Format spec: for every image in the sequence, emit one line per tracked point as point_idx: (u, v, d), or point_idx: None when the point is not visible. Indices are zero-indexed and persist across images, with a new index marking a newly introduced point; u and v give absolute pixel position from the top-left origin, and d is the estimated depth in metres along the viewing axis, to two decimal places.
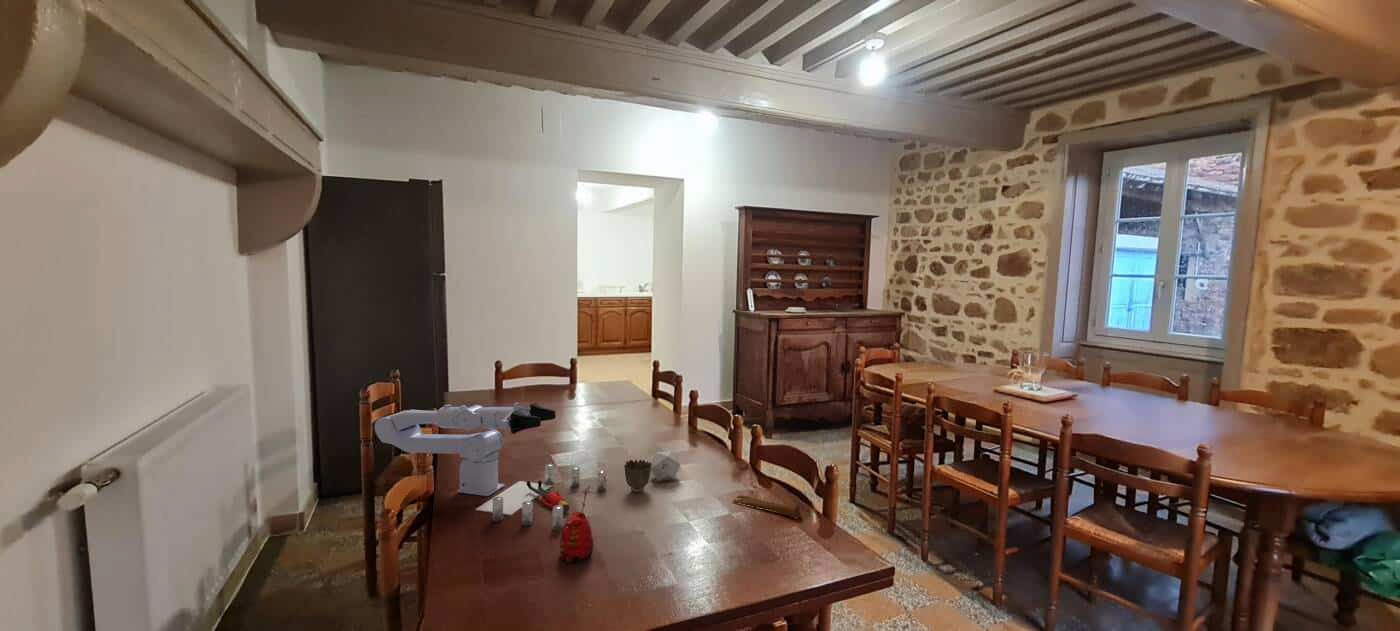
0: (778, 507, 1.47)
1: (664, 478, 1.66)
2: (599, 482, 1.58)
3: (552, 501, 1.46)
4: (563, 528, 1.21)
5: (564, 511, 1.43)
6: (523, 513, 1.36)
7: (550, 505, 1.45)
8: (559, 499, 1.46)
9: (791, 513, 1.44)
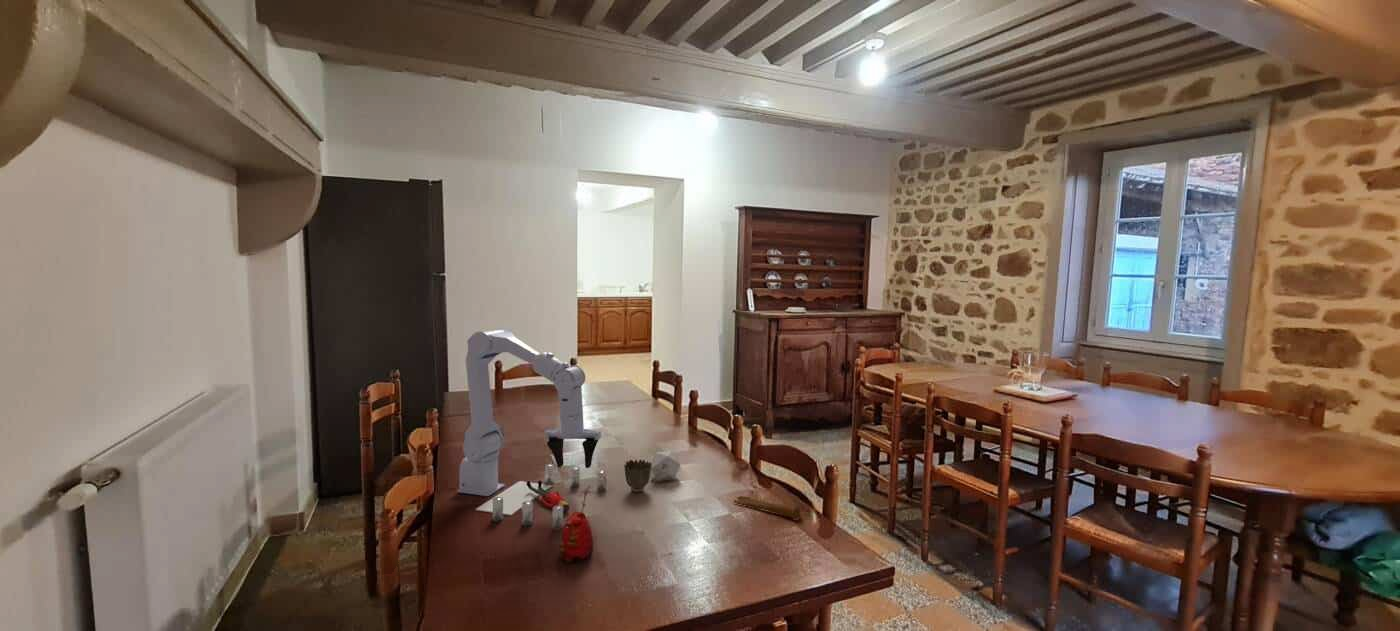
0: (778, 508, 1.46)
1: (664, 478, 1.66)
2: (599, 482, 1.58)
3: (552, 501, 1.46)
4: (563, 528, 1.21)
5: (564, 511, 1.43)
6: (523, 513, 1.36)
7: (550, 505, 1.45)
8: (559, 499, 1.46)
9: (790, 514, 1.43)
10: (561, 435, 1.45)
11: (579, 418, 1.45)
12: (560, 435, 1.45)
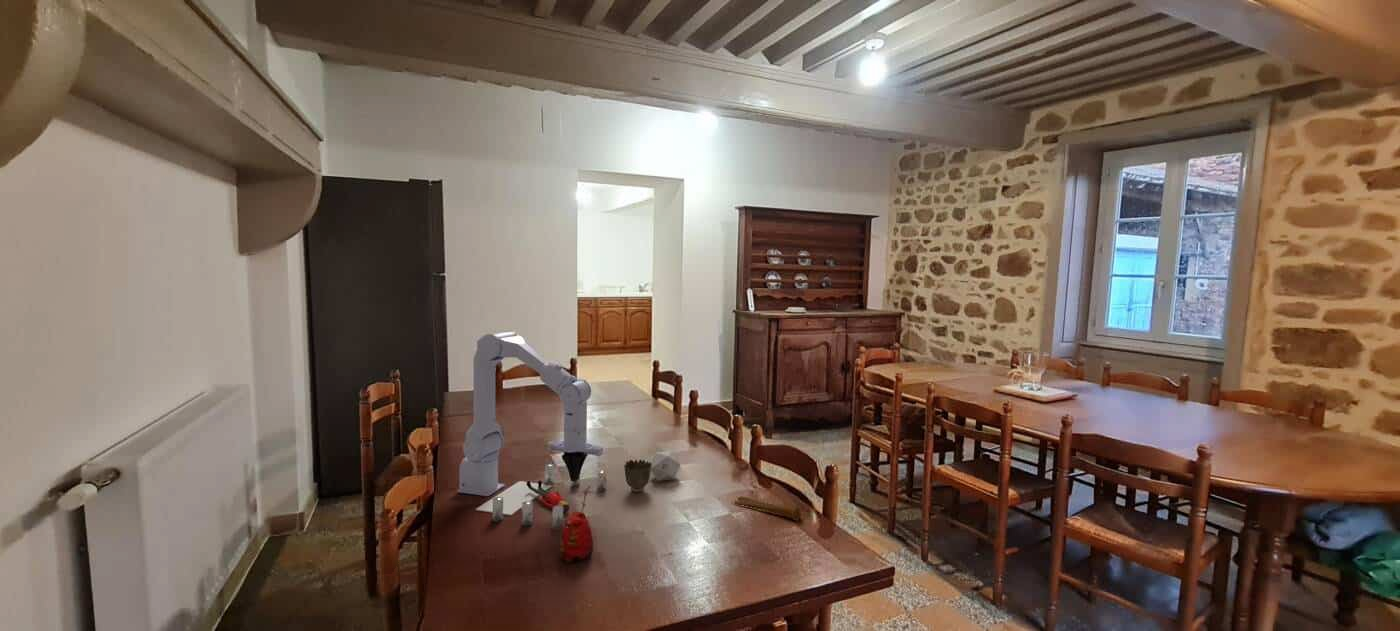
0: (778, 509, 1.46)
1: (664, 478, 1.66)
2: (599, 482, 1.58)
3: (552, 501, 1.46)
4: (563, 528, 1.21)
5: (564, 511, 1.43)
6: (523, 513, 1.36)
7: (550, 505, 1.45)
8: (559, 499, 1.46)
9: (791, 514, 1.43)
10: (563, 448, 1.45)
11: (582, 433, 1.45)
12: (562, 448, 1.45)
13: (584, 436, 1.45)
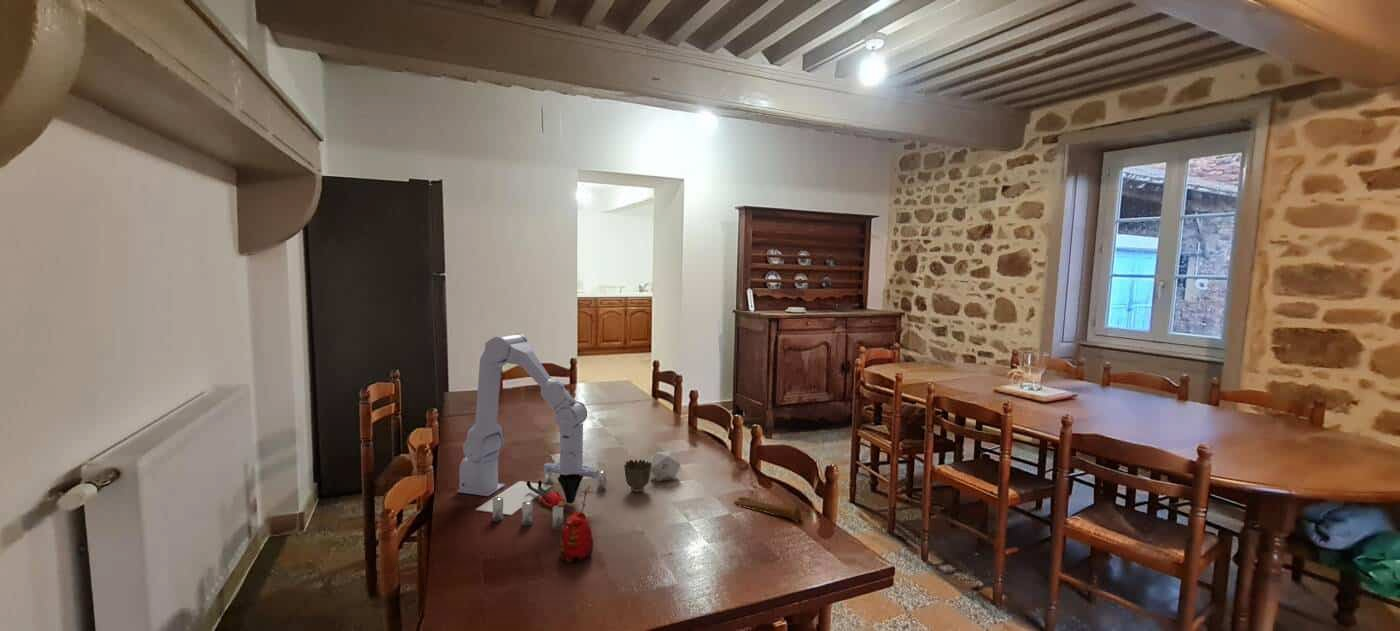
0: (778, 510, 1.45)
1: (664, 478, 1.66)
2: (599, 482, 1.58)
3: (552, 501, 1.46)
4: (563, 528, 1.21)
5: (564, 511, 1.43)
6: (523, 513, 1.36)
7: (550, 505, 1.45)
8: (559, 499, 1.46)
9: (791, 515, 1.43)
10: (559, 471, 1.45)
11: (578, 455, 1.45)
12: (558, 471, 1.46)
13: (580, 458, 1.46)
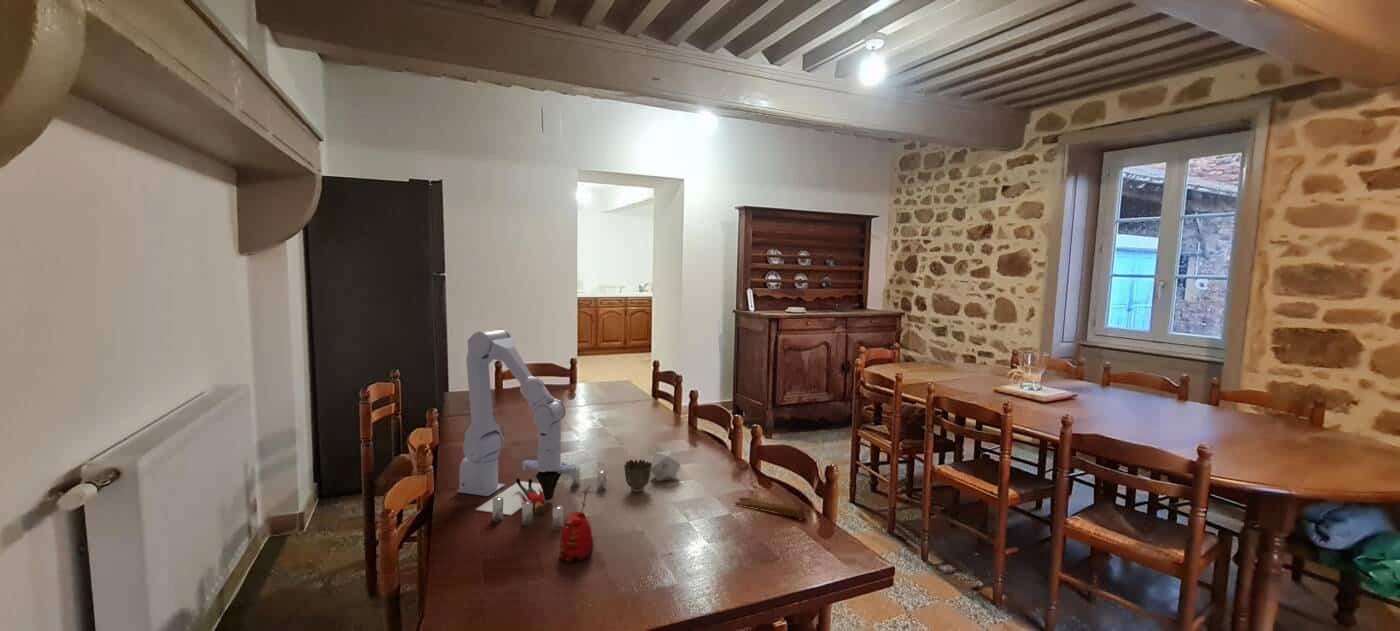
0: (782, 508, 1.46)
1: (664, 478, 1.66)
2: (599, 482, 1.58)
3: None
4: (563, 528, 1.21)
5: (538, 512, 1.42)
6: (523, 513, 1.36)
7: None
8: (538, 499, 1.46)
9: (795, 513, 1.44)
10: (537, 468, 1.47)
11: (556, 453, 1.47)
12: (536, 468, 1.47)
13: (558, 456, 1.48)
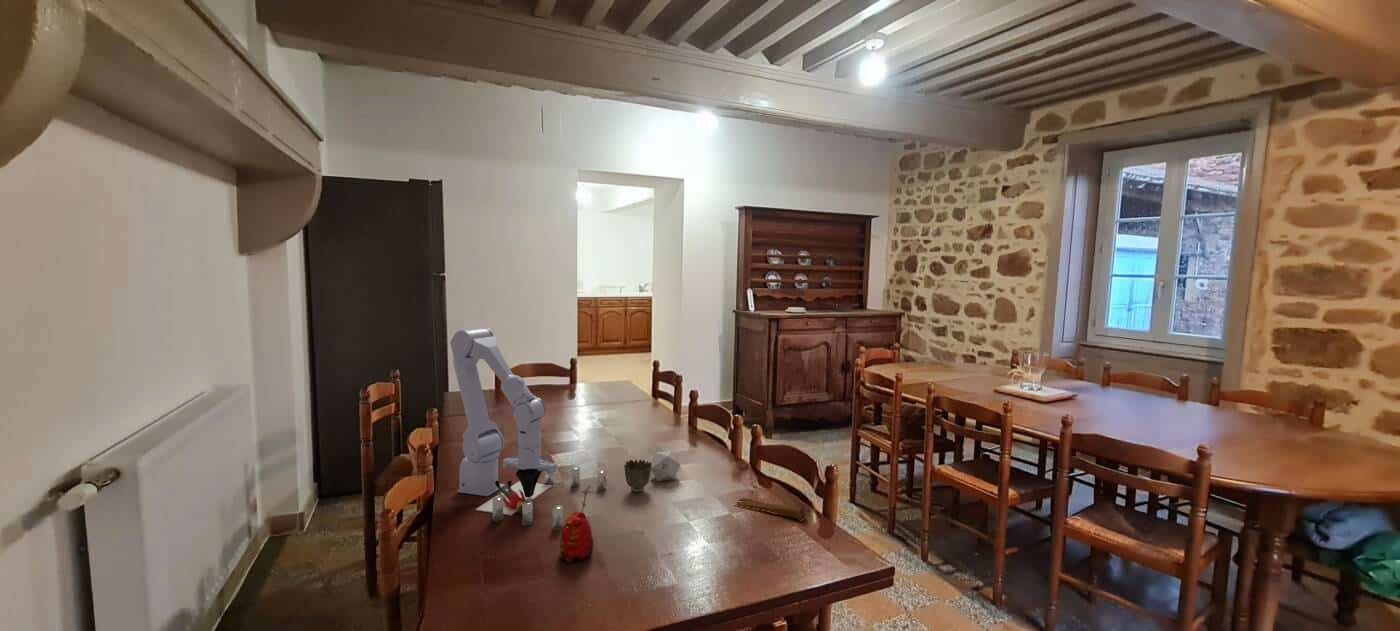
0: (782, 509, 1.45)
1: (664, 478, 1.66)
2: (599, 482, 1.58)
3: (512, 501, 1.45)
4: (563, 528, 1.21)
5: (521, 512, 1.41)
6: (523, 513, 1.36)
7: (510, 505, 1.44)
8: (519, 500, 1.45)
9: (796, 515, 1.43)
10: (517, 465, 1.48)
11: (536, 450, 1.48)
12: (516, 465, 1.48)
13: (538, 453, 1.49)
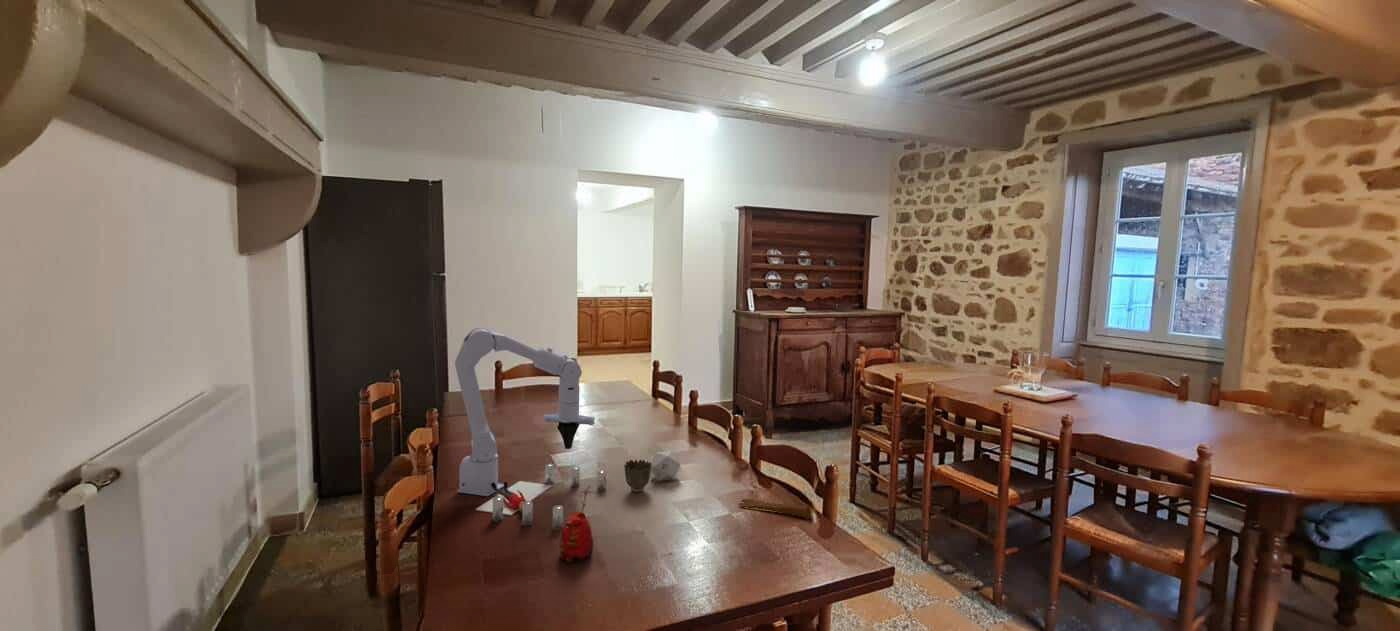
0: (788, 508, 1.46)
1: (664, 478, 1.66)
2: (599, 482, 1.58)
3: (513, 502, 1.44)
4: (563, 528, 1.21)
5: None
6: (523, 513, 1.36)
7: (511, 506, 1.44)
8: (521, 500, 1.45)
9: (802, 513, 1.44)
10: (559, 419, 1.62)
11: (576, 405, 1.63)
12: (558, 419, 1.62)
13: (577, 408, 1.63)
